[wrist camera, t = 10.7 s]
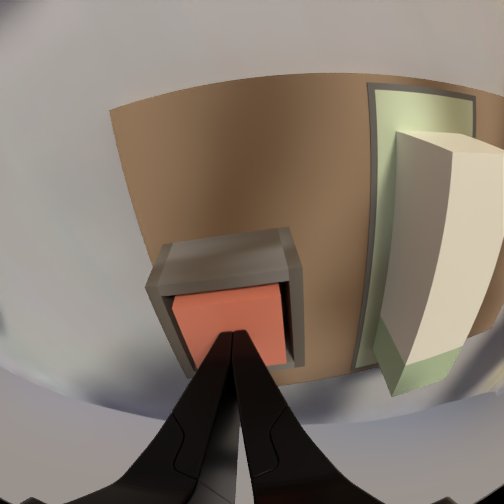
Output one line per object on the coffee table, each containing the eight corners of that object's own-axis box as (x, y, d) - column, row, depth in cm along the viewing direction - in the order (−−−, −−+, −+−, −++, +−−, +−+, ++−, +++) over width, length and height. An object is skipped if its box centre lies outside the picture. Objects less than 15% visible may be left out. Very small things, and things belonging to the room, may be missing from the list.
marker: (396, 130, 8) (452, 152, 6) (460, 133, 8) (518, 156, 6) (372, 349, 14) (391, 396, 11) (421, 336, 14) (444, 378, 11)
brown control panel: (534, 108, 8) (578, 123, 5) (486, 321, 15) (508, 352, 13) (118, 108, 8) (68, 119, 6) (207, 381, 16) (203, 430, 13)
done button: (272, 252, 10) (280, 295, 8) (279, 317, 12) (286, 363, 10) (183, 264, 10) (171, 308, 8) (203, 326, 12) (199, 372, 10)
